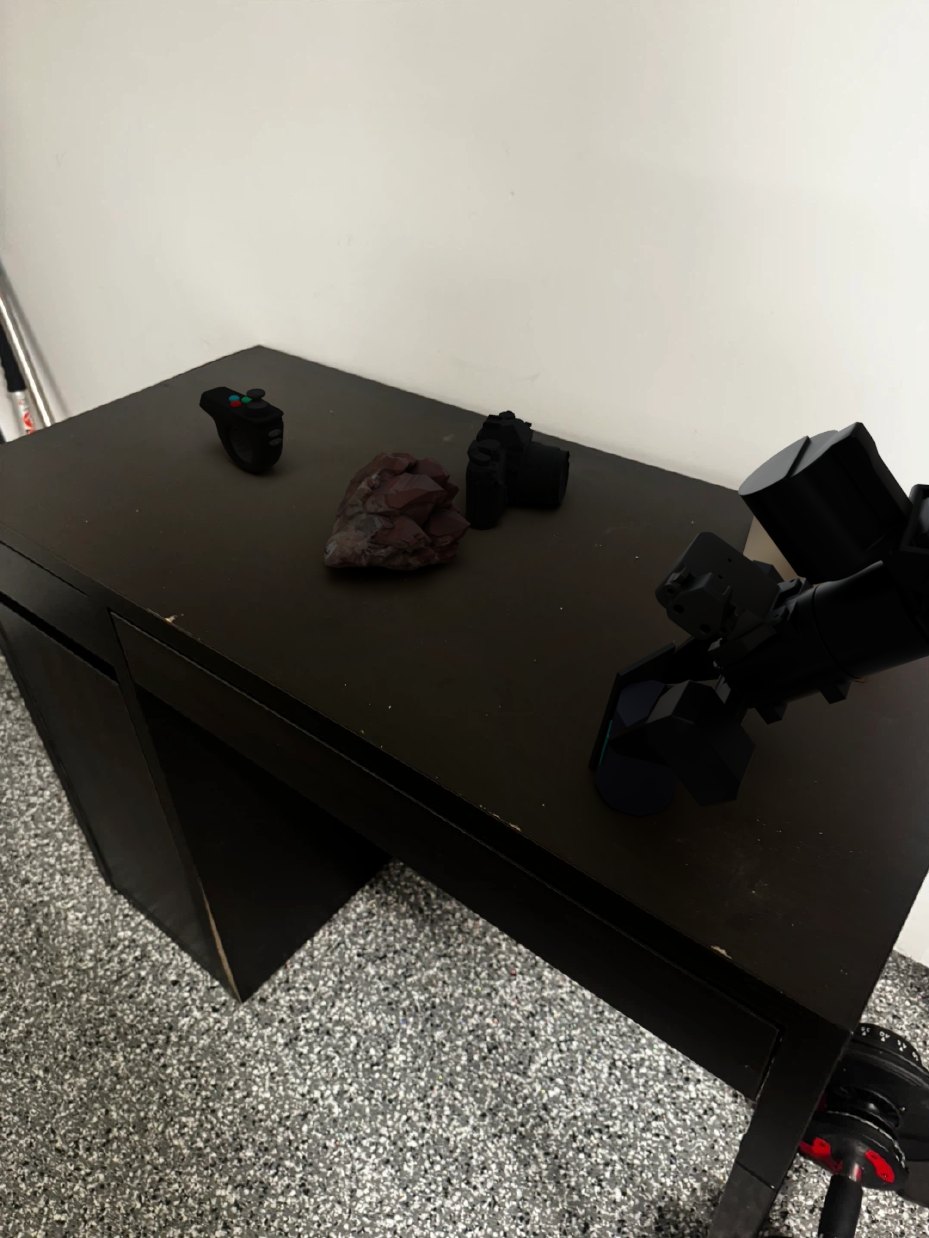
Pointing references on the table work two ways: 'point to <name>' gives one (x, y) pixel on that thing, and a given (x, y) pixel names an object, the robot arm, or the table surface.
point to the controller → (246, 426)
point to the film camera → (511, 470)
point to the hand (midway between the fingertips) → (633, 710)
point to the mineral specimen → (397, 516)
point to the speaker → (630, 700)
